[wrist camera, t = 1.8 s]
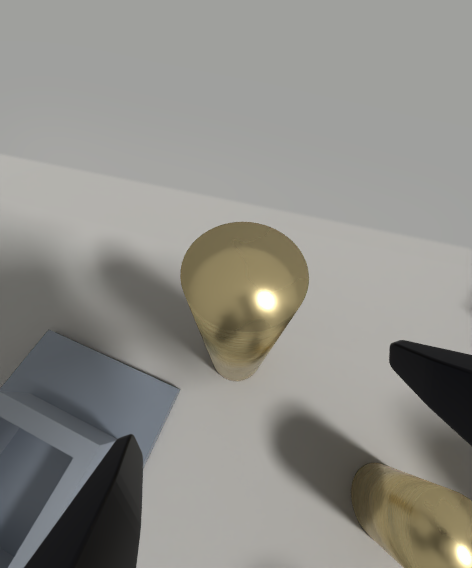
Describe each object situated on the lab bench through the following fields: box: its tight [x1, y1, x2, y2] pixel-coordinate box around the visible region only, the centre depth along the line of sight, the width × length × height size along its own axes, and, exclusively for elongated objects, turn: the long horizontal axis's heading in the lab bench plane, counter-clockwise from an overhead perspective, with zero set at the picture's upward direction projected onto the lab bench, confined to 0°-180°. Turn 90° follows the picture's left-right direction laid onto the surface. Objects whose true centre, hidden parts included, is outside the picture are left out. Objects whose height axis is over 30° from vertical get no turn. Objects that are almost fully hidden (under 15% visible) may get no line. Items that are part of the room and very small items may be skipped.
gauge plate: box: [0, 330, 180, 568], centre depth 13 cm, size 16×12×3 cm
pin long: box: [180, 222, 309, 381], centre depth 13 cm, size 4×4×13 cm
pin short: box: [351, 463, 472, 568], centre depth 12 cm, size 4×4×6 cm
